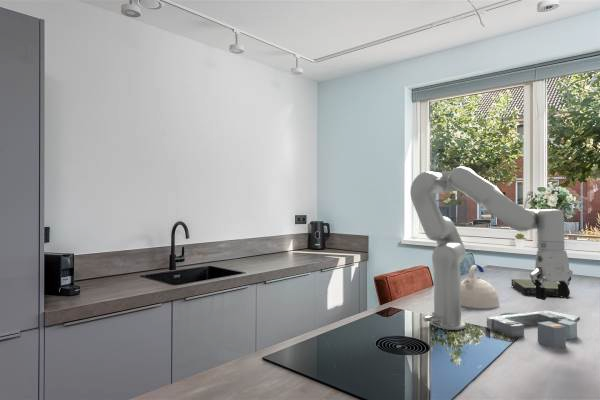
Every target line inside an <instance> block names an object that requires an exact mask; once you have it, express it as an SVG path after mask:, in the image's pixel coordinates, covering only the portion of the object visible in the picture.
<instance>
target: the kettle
mask: <svg viewBox="0 0 600 400" xmlns="http://www.w3.org/2000/svg"><path fill="white" fill-rule="evenodd" d="M476 268H477V269H478V271H479V273H484V272H485V270H484V268H483V267H482V266H481V265H479V264H472V266H470V268H469V271H468V278H465V279H463V280H462V281H461V280H460V285H461V307H464V308H465V307H466V308H469V309H471V308H472V309H480V310H482V309H483V310H486V309H496V308H498V307H499V306H500V301H499V294H498V292H497V290H496V288H494V286H493V285H492V284H491V283H489V282H488V281H486V280H484V279H482V278H480V277H475V273H476V272H475V271H476Z"/></svg>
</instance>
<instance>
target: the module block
mask: <svg viewBox="0 0 600 400" xmlns="http://www.w3.org/2000/svg"><path fill="white" fill-rule="evenodd" d="M566 341H567V338H566V327H565V326H563V325H560V324H556V323H553V322H550V321H547V322H539V323H538V324H537V343H540V344H543V345H545V346H547V347H550V348H553V349H557V348H558V349H559V348H564V347H565V348H566V346H567V343H566Z"/></svg>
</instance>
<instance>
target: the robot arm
mask: <svg viewBox="0 0 600 400" xmlns="http://www.w3.org/2000/svg"><path fill="white" fill-rule="evenodd" d="M458 191H459V192H460V193H461V194H464V196H466V197H467V198H469V199H470V200H471V201H473V202H475V203H476V204H477V205H479V206H481V208H483V210H486V211H487V212H489V214H491V215H492V216H493V217H495V218H497V219H498V220H500V221H501V222H502V223H504V224H506V225H507V226H508V227H509V228H511V229H513V230H514V231H517V232H520V233H521V232H527V231H530V230H536V231H537V232H536V233H537V243H536V246H537V251H536V257H535V265H534V267H535V269H534V270H533V271H532V272H531V273H530V274H529V277H530V280H532V282H533V284H534V286H536V296H535V298H536V299H538V300H541V301H546V300H547V296H546V289H545V288H544V286H545V284H546V282H547V281H548V282H557V283H559V284H558V295H559V296H558V297H560V296H562V297H561V298H569V296H568V288H569V286H570V281H571V280H572V276H573V273H574V272H573V270H571V269H570V263H569V257H568V253H567V250H566V249H565V247H566V246H565V221H564V220H565V217H564V215H565V214H564V212H563V210H561V209H558V208H557V209H556V208H554V209H553V208H549V209H532V208H531V209H530V208H524V207H522V206H520V205H519V204H518V203H516V202H514V201H513V200H511V199H510V198H509V197H507V196H506V195H504V193H502V191H501V190H500V189H499V188H498V187H497V186H496V185H494V184H493V183H492V182H489V181H488V180H487V179H484V178H483V177H481V176H480V175H478V174H477V173H476V172H475V171H474V170H473V169H472V168H470V167H466V166H457V167H455V168H453V169H452V170H447V171H442V172H436V171H435V172H434V171H430V170H427V171H424V172H421V173H420V174H418V175H417V176H416V177H415V178H414V179H413V181H412V183H411V185H410V198H411V202H412V205H413V207H414V209H415V211H416V213H417V217H418V219H419V222H420V225H421V226H422V229H423V231H424V235H425V236H426V237H427V238H428V239H429V240H431V241H434V242H435V241H436V243H437V246H436V247H435V248H434V249H433V252H432V256H431V260H432V267H433V268H432V269H433V292H434V293H433V298H434V300H433V303H434V304H433V306H434V307H433V309H434V310H433V312H431V314H430V315H426V316H423V317H422V319H423V321H424V322H430V323H431V324H430V323H429V324H430V325H431V326H432V325H433V326H432V327H434V326H435V327H434V328H437V327H438V328H437V329H440V328H442V329H441V330H445V329H446V330H447V331H458V330H463V329H465V328H466V323H465V322H464V321H462V319H461V317H462V312H461V311H462V306H461V285H460V282H461V272H460V271H461V270H460V264H461V263H462V262H463V261H464V260H465V259H466V254H467V253H466V247H465V245H464V243H463V241H462V238H461V236H460V233H459V232H458V229H457V227H456V224H454V222H453V221H452V219H450V218H449V217H448V216H443V214H442V212H441V209H440V208H439V204H438V203H437V201H436V200H435V197H434V195H433V194H443V193H451V192H458ZM540 281H542V282H541V283H540Z"/></svg>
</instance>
